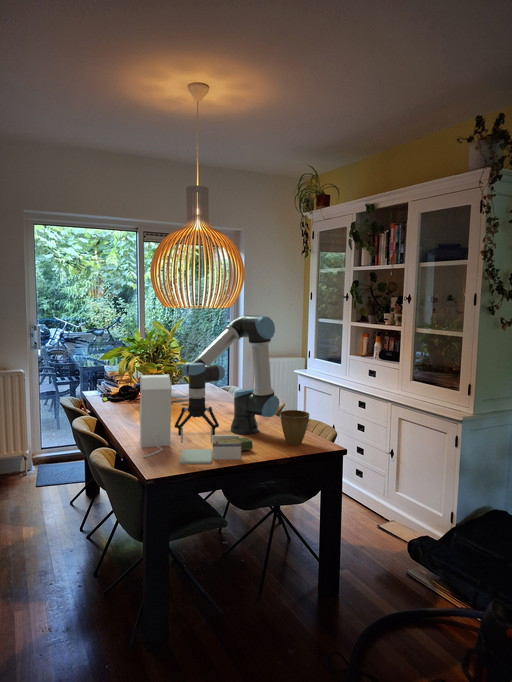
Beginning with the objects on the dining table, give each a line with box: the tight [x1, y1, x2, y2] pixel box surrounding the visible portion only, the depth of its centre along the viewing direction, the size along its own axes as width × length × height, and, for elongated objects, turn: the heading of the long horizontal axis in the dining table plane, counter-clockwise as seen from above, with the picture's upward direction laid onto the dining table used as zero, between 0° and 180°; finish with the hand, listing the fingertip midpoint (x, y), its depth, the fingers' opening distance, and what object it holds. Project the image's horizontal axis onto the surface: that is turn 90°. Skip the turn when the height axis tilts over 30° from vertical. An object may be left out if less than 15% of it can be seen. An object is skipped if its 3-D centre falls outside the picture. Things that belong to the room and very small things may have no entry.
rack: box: [212, 434, 242, 461], centre depth 238 cm, size 19×13×7 cm
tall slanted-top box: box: [138, 373, 172, 458], centre depth 244 cm, size 14×35×35 cm, turn 16°
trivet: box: [179, 448, 213, 465], centre depth 231 cm, size 18×14×1 cm
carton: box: [216, 437, 254, 452], centre depth 241 cm, size 8×16×4 cm, turn 117°
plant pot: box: [279, 409, 310, 447], centre depth 254 cm, size 15×15×16 cm
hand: (196, 442), depth 230 cm, fingers open, 13 cm apart
